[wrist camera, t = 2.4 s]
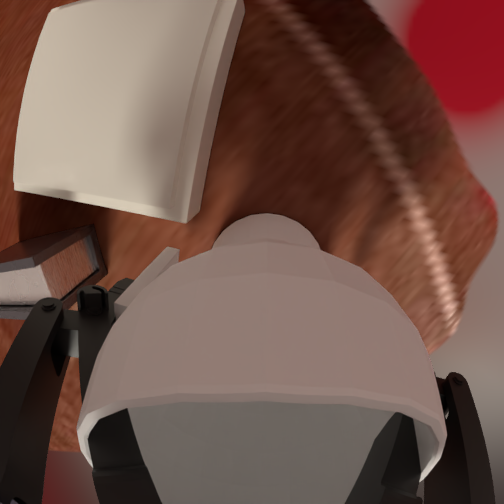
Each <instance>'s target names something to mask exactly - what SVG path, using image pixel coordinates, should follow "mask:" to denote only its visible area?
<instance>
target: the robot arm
mask: <svg viewBox="0 0 504 504" xmlns="http://www.w3.org/2000/svg"><path fill="white" fill-rule="evenodd" d="M179 250H180V249H175V248H171V247H166V248H165V249H164V250H163V251H162V252H161V253H160V254H159V255H158V257H157V258H156V259H155V260H154V261H153V262H152V263H151V264H150V265H149V266H148V267H147V268H146V269H145V270H144V271H143V272H142V273H141V274H140V275H139V276H138V277H137V278H136V279H135V280H132V279H128V278H125V279H122V280H120V281H118V282H117V283H116V284H115V285H114V286H113V287H112V288H111V289H110V290H109V291H108V292H107V290H106V289H105V288H104V287H101V286H98V285H87V286H84V287H81V288H80V289H79V290H78V291H77V303H78V311H74V310H66V309H63V304H62V302H61V301H60V300H59V299H57V298H54V297H46V298H43V299H41V300H39V301H38V302H37V303H36V304H35V305H34V307H33V309H32V310H31V312H30V314H29V315H28V317H27V319H26V320H25V322H24V324H23V325H22V327H21V329H20V331H19V332H18V334H17V336H16V338H15V340H14V342H13V343H12V345H11V347H10V349H9V351H8V353H7V355H6V357H5V359H4V361H3V363H2V365H1V367H0V504H42V496H43V487H44V477H45V476H44V475H45V468H46V460H47V454H48V447H49V442H50V436H51V431H52V426H53V421H54V416H55V412H56V408H57V403H58V399H59V395H60V391H61V388H62V384H63V380H64V377H65V373H66V370H67V366H68V363H69V360H70V357H78V358H79V373H80V386H81V397H82V404H83V401H84V397H85V394H86V390H87V387H88V383H89V380H90V377H91V374H92V371H93V367H94V364H95V361H96V358H97V355H98V353H99V351H100V349H101V347H102V345H103V343H104V341H105V339H106V337H107V335H108V333H109V331H110V330H111V328H112V326H113V325H114V323H115V322H116V321H117V320H118V318H119V317H120V316H121V315H122V313H123V312H124V311H125V310H126V308H127V307H128V306H129V305H130V304H131V302H132V301H133V300H134V299H135V298H136V296H137V295H138V294H139V293H140V292H141V290H143V289H144V288H145V287H146V286H147V285H149V284H150V283H151V282H152V281H153V280H155V279H156V278H157V277H158V276H160V275H161V274H162V273H163V272H164V271H166V270H167V269H168V268H169V267H171V266H172V265H174V264H177V263H178V258H179ZM434 374H435V372H434ZM435 378H436V382H437V386H438V390H439V395H440V399H441V404H442V409H443V414H444V419H445V425H446V430H447V438H446V442H445V445H444V449H443V452H442V455H441V458H440V460H439V461H438V462H437V463H436V465H435V466H434V467H433V469H432V470H431V471H430V472H429V474H428V475H427V476H426V477H425V478H424V504H495V495H494V487H493V480H492V474H491V468H490V463H489V458H488V453H487V449H486V444H485V440H484V436H483V432H482V428H481V424H480V420H479V417H478V414H477V410H476V407H475V404H474V400H473V397H472V394H471V392H470V388H469V385H468V383H467V381H466V379H465V378H464V377H463V376H462V375H461V374H459V373H456V372H451V373H449V375H448V376H447V377H446V379H442V378H438V377H436V375H435ZM448 412H449V414H448V417H447V419H446V418H445V415H446V414H447V413H448ZM87 439H88V445H89V450H90V455H91V460H92V464H93V471H92V476H93V481H94V485H95V489H96V492H97V496H98V499H99V503H100V504H162V502H161V500H160V497H159V495H158V493H157V490H156V488H155V485H154V483H153V480H152V478H151V476H150V473H149V471H148V468H147V466H146V465H145V463H144V460H143V457H142V454H141V452H140V449H139V445H138V442H137V439H136V436H135V433H134V429H133V426H132V423H131V419H130V415H129V412H128V408H125V409H123V410H121V411H118V412H116V413H113V414H111V415H108V416H106V417H103V418H101V419H99V420H98V421H97V423H96V424H95V426H94V427H93V429H92V430H91V432H90V433H89V438H87ZM420 477H421V467H420V459H419V452H418V445H417V438H416V432H415V427H414V421H413V418H411V417H409V416H407V415H405V414H403V413H401V412H395V413H394V415H393V416H392V417H391V418H390V419H389V420H388V422H387V423H386V424H385V426H384V427H383V429H382V430H381V431H380V433H379V434H378V436H377V437H376V438H375V440H374V442H373V445H372V447H371V449H370V452H369V454H368V456H367V459H366V461H365V463H364V466H363V468H362V470H361V472H360V474H359V476H358V478H357V480H356V482H355V484H354V486H353V488H352V490H351V492H350V494H349V496H348V498H347V500H346V502H345V504H422V502H423V500H422V498H420V497H417V496H416V492H417V489H418V485H419V481H420Z"/></svg>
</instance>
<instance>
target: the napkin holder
mask: <svg viewBox="0 0 504 504" xmlns="http://www.w3.org/2000/svg"><path fill="white" fill-rule="evenodd" d="M107 274H108V273H107V270H106V267H105V264H104V260H103V257H102V253H101V250H100V246H99V243H98V239H97V235H96V231H95V227H94V224H91V225H86V226H82V227H77V228H73V229H69V230H64V231H60V232H56V233H52V234H48V235H44V236H40V237H36V238H32V239H28V240H25V241H21V242H18V243H16V244H14V245H12V246H10V247H8V248H6V249H5V250H3V251H1V252H0V318H6V319H22V320H26V319H27V317H28V315H29V314H30V312H31V310H32V309H33V307H34V305H35V304H36V303H37V302H38V301H39V300H41V299H43V298H46V297H54V298H57V299H59V300H60V301H61V302H62V304H63V309H66V310H68V309H69V308H70V307H71V306H72V305H73V304H74V303H76V302H77V291H78V290H79V289H80V288H81V287H84V286H87V285H95V284H97V283H98V282H99V281H100V280H101V279H102V278H103V277H105V276H106V275H107Z"/></svg>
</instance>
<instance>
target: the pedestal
mask: <svg viewBox="0 0 504 504" xmlns="http://www.w3.org/2000/svg"><path fill="white" fill-rule="evenodd" d="M244 14H245V7H244V1H243V0H81V1H77V2H74V3H70V4H67V5H63V6H60V7H57V8H54V9H52V10H51V12H50V13H49V14H48V17H47V19H46V22H45V24H44V27H43V29H42V32H41V35H40V38H39V40H38V43H37V46H36V50H35V53H34V56H33V59H32V63H31V66H30V70H29V74H28V78H27V82H26V86H25V90H24V95H23V100H22V105H21V110H20V116H19V123H18V130H17V137H16V147H15V158H14V174H13V182H14V190H17V191H23V192H28V193H34V194H39V195H45V196H50V197H55V198H61V199H66V200H71V201H76V202H82V203H87V204H92V205H97V206H102V207H107V208H113V209H118V210H123V211H128V212H133V213H138V214H143V215H148V216H152V217H157V218H162V219H167V220H172V221H177V222H182V223H187V222H188V221H190V220H191V219H192V218H193V217H194V216H195V215H196V214H197V213H198V212H199V211H200V206H201V201H202V195H203V189H204V184H205V178H206V173H207V168H208V162H209V157H210V152H211V147H212V142H213V137H214V133H215V128H216V123H217V119H218V114H219V110H220V105H221V101H222V97H223V93H224V88H225V84H226V80H227V76H228V72H229V68H230V64H231V60H232V57H233V53H234V49H235V45H236V42H237V38H238V34H239V31H240V27H241V24H242V20H243V17H244Z"/></svg>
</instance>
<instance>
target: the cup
mask: <svg viewBox="0 0 504 504" xmlns="http://www.w3.org/2000/svg"><path fill="white" fill-rule="evenodd" d="M125 408H128V412H129V415H130V419H131V423H132V426H133V429H134V433H135V436H136V439H137V442H138V445H139V449H140V452H141V454H142V457H143V460H144V463H145V465H146V466H147V468H148V471H149V473H150V476H151V478H152V480H153V483H154V485H155V488H156V490H157V493H158V495H159V497H160V500H161V502H162V504H345V502H346V500H347V498H348V496H349V494H350V492H351V490H352V488H353V486H354V484H355V482H356V480H357V478H358V476H359V474H360V472H361V470H362V468H363V466H364V463H365V461H366V459H367V456H368V454H369V452H370V449H371V447H372V445H373V442H374V440H375V438H376V437H377V436H378V434H379V433H380V431H381V430H382V429H383V427H384V426H385V424H386V423H387V422H388V420H389V419H390V418H391V417H392V416H393V415H394V413H395V412H401V413H403V414H405V415H407V416H409V417H411V418H413V421H414V427H415V432H416V438H417V445H418V452H419V459H420V467H421V477H420V481H421V480H423V479H424V478H425V477H426V476H427V475H428V474H429V472H430V471H431V470H432V469H433V467H434V466H435V465H436V463H437V462H438V461H439V460H440V458H441V455H442V452H443V449H444V445H445V442H446V438H447V430H446V425H445V419H444V414H443V409H442V404H441V399H440V395H439V390H438V386H437V382H436V378H435V374H434V370H433V367H432V363H431V359H430V357H429V355H428V352H427V350H426V348H425V345H424V343H423V341H422V338H421V336H420V334H419V332H418V330H417V328H416V327H415V326H414V324H413V323H412V322H411V320H410V319H409V318H408V316H407V315H406V314H405V312H404V311H403V310H402V308H401V307H400V306H399V304H398V303H397V302H396V300H395V299H394V298H393V297H392V295H391V294H390V293H389V292H388V291H387V290H386V289H385V288H383V287H382V286H381V285H380V284H379V283H378V282H377V281H376V280H375V279H373V278H372V277H371V276H370V275H369V274H368V273H367V272H366V271H364V270H363V269H362V268H361V267H358V266H356V265H354V264H352V263H349V262H347V261H345V260H342V259H340V258H338V257H336V256H333V255H331V254H329V253H326V252H324V251H322V250H320V247H319V244H318V243H317V241H316V240H315V238H314V237H313V235H312V234H311V233H310V231H308V230H307V229H306V228H305V227H303V226H302V225H301V224H300V223H298V222H297V221H294V220H292V219H290V218H288V217H285V216H283V215H276V214H269V213H265V214H256V215H250V216H247V217H245V218H242V219H240V220H237V221H235V222H234V223H233V224H231V225H230V226H229V227H227V228H226V229H225V230H223V232H222V233H221V234H220V236H219V237H218V238H217V240H216V241H215V242H214V245H213V248H212V250H209V251H206V252H204V253H201V254H199V255H196V256H194V257H192V258H189V259H187V260H184V261H182V262H179V263H177V264H174V265H172V266H171V267H169V268H168V269H167V270H166V271H164V272H163V273H162V274H161V275H160V276H158V277H157V278H156V279H155V280H153V281H152V282H151V283H150V284H149V285H147V286H146V287H145V288H144V289H143V290H141V292H140V293H139V294H138V295H137V296H136V298H135V299H134V300H133V301H132V302H131V304H130V305H129V306H128V307H127V308H126V310H125V311H124V312H123V313H122V315H121V316H120V317H119V318H118V320H117V321H116V322H115V323H114V325H113V326H112V328H111V330H110V331H109V333H108V335H107V337H106V339H105V341H104V343H103V345H102V347H101V349H100V351H99V353H98V355H97V358H96V361H95V364H94V367H93V371H92V374H91V377H90V380H89V383H88V387H87V390H86V394H85V397H84V401H83V404H82V408H81V412H80V416H79V420H78V424H77V434H78V439H79V444H80V449H81V452H82V453H83V454H84V456H85V458H86V459H87V460H88V462H89V463H90V465H91V466H92V467H93V464H92V460H91V455H90V450H89V445H88V439H87V438H89V433H90V432H91V430H92V429H93V427H94V426H95V424H96V423H97V421H98V420H99V419H101V418H103V417H106V416H108V415H111V414H113V413H116V412H118V411H121V410H123V409H125ZM420 481H419V482H420Z"/></svg>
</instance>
